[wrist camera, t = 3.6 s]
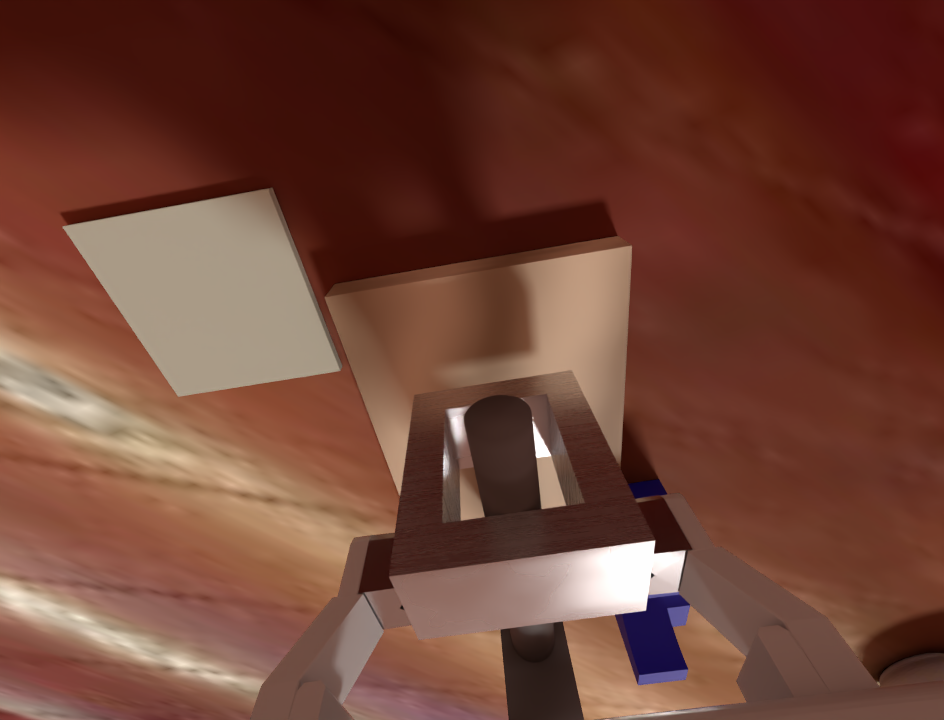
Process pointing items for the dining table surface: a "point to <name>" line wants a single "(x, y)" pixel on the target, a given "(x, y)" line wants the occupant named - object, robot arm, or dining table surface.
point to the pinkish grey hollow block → (516, 522)
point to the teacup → (914, 670)
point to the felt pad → (212, 291)
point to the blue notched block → (655, 624)
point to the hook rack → (500, 416)
